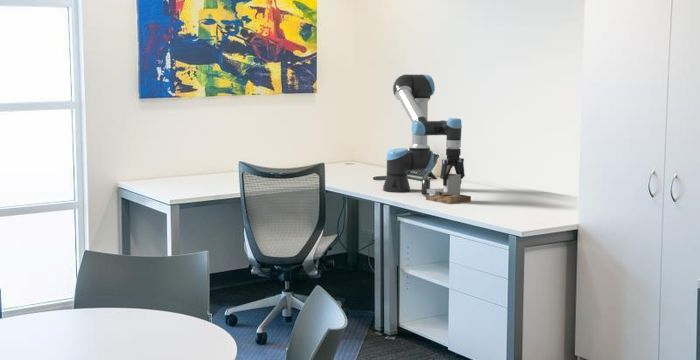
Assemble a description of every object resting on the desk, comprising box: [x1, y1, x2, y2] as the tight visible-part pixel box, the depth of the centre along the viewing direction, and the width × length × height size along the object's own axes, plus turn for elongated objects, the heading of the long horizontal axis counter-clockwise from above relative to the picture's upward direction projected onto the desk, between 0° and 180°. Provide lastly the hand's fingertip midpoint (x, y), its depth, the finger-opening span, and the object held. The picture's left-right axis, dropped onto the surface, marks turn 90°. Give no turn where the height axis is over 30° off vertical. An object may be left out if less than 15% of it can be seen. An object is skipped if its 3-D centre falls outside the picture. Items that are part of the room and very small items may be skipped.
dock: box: [425, 189, 472, 205], centre depth 469 cm, size 17×16×4 cm
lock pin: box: [421, 178, 445, 196], centre depth 480 cm, size 16×4×8 cm, turn 38°
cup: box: [444, 173, 462, 195], centre depth 468 cm, size 8×8×10 cm
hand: (452, 191), depth 468 cm, fingers closed on cup, 8 cm apart
